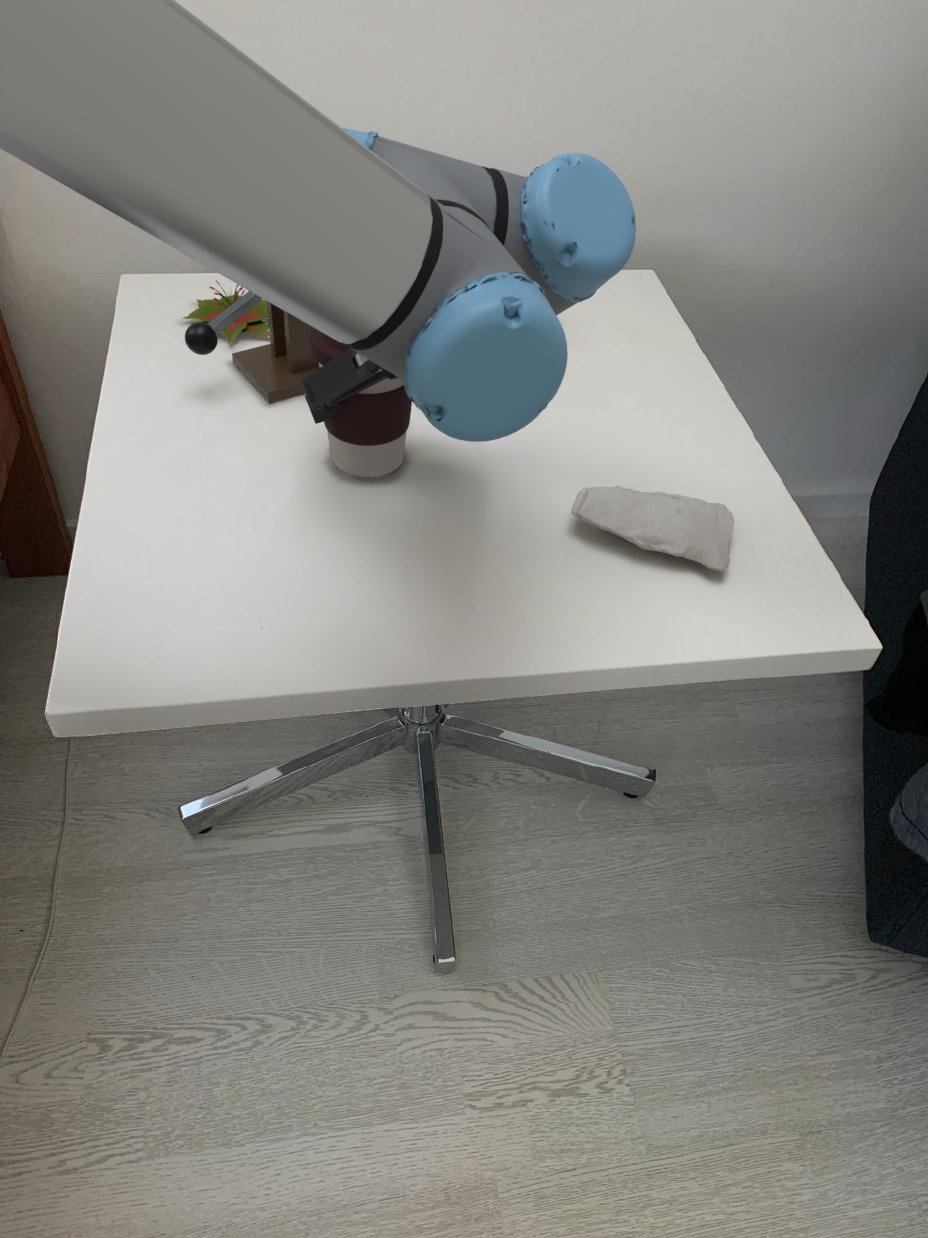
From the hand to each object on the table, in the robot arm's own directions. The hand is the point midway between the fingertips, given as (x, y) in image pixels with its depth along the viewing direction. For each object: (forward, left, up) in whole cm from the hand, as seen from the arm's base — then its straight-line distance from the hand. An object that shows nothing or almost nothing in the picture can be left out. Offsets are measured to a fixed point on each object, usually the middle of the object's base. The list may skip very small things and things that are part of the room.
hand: (363, 393), depth 85 cm
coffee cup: (0, -1, -7) cm, 7 cm away
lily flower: (0, +31, -7) cm, 31 cm away
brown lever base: (+2, +17, -7) cm, 19 cm away
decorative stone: (+17, -24, -7) cm, 30 cm away
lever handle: (-3, +17, +1) cm, 18 cm away
